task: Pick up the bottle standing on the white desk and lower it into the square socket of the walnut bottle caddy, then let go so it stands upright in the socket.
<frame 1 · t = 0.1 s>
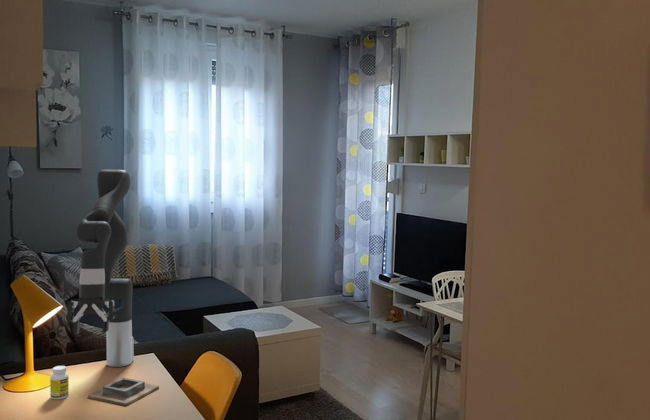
hand: (90, 333, 178), 22 cm above the table, tool pointing down, fingers open, 8 cm apart
bottle caddy: (124, 392, 186), on the table
supplement bottle: (59, 397, 182), on the table
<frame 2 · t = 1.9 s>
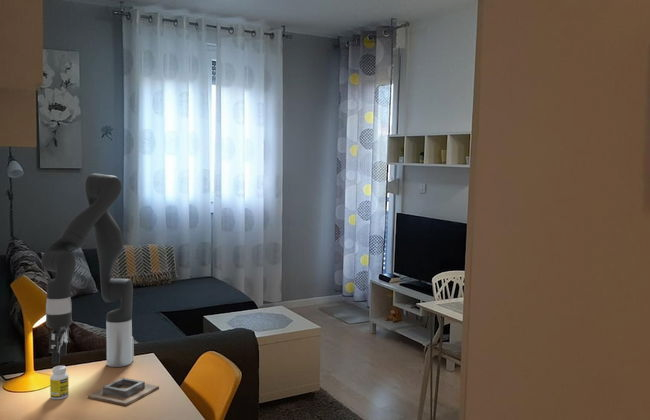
hand: (59, 359, 181), 12 cm above the table, tool pointing down, fingers open, 8 cm apart
nothing on the table moved.
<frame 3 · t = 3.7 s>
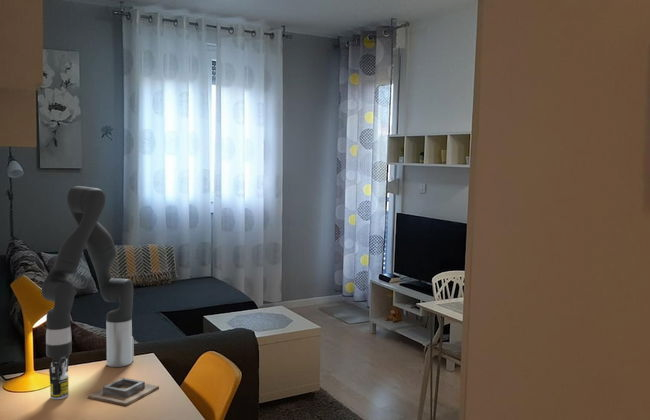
hand: (59, 390, 182), 2 cm above the table, tool pointing down, fingers closed on supplement bottle, 5 cm apart
supplement bottle: (59, 397, 182), on the table, touching gripper
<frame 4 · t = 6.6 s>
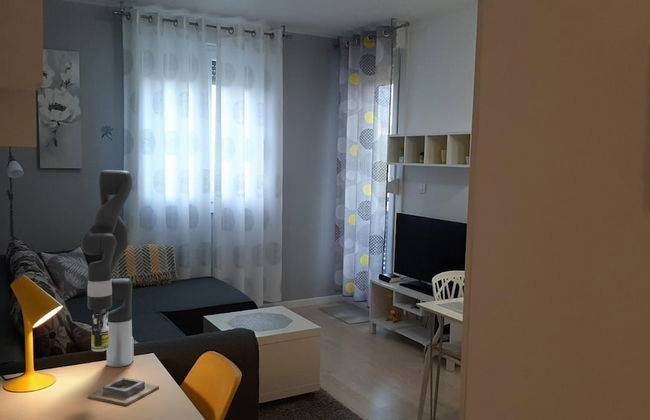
hand: (100, 343, 184), 17 cm above the table, tool pointing down, fingers closed on supplement bottle, 5 cm apart
supplement bottle: (100, 349, 184), point 15 cm above the table, touching gripper
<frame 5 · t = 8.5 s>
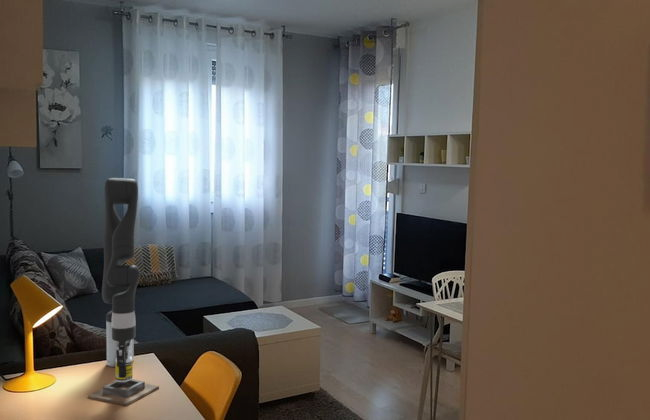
hand: (124, 373, 186), 7 cm above the table, tool pointing down, fingers closed on supplement bottle, 5 cm apart
supplement bottle: (124, 380, 186), point 4 cm above the table, touching gripper
when the fingers open (4 cm above the table, at t = 9.8 s): supplement bottle drops 2 cm, resting on bottle caddy.
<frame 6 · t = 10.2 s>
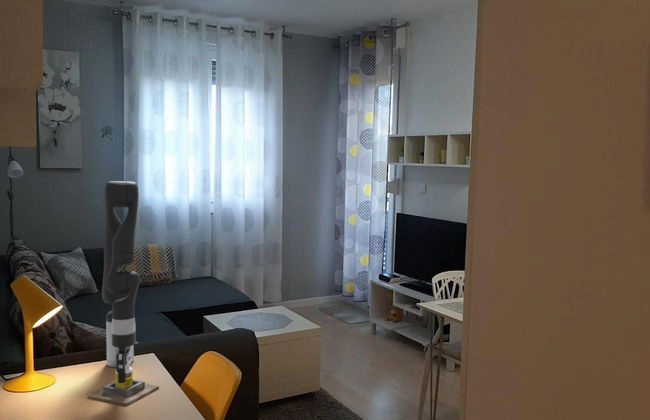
hand: (124, 378, 186), 5 cm above the table, tool pointing down, fingers open, 8 cm apart
supplement bottle: (124, 390, 186), point 1 cm above the table, touching bottle caddy
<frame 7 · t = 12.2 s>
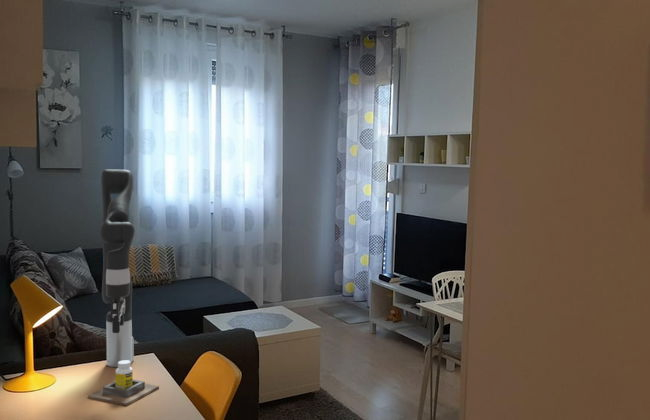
hand: (118, 328, 186), 22 cm above the table, tool pointing down, fingers open, 8 cm apart
nothing on the table moved.
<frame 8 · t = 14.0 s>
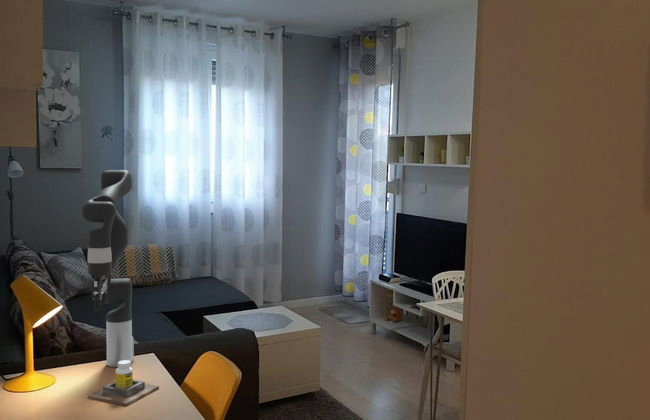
hand: (100, 307, 188), 28 cm above the table, tool pointing down, fingers open, 8 cm apart
nothing on the table moved.
at the end: supplement bottle 0.1 cm from the bottle caddy (horizontally); supplement bottle tilted 0°; the gripper is holding nothing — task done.
